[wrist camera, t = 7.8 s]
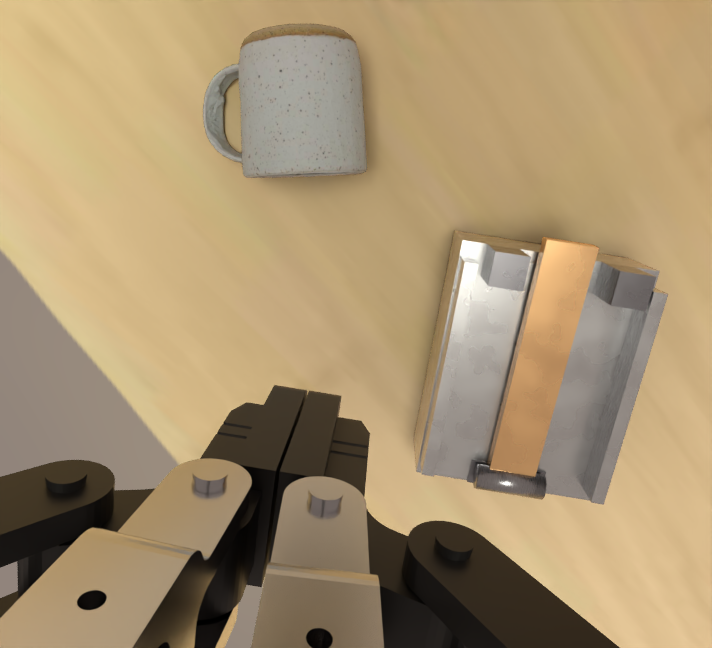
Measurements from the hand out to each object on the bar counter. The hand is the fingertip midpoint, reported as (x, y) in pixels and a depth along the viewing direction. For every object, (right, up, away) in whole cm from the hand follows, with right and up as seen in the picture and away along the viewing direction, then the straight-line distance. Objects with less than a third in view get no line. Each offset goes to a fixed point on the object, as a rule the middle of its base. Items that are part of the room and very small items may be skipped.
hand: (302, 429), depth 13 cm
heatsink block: (+13, 0, +29) cm, 32 cm away
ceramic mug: (-3, +16, +26) cm, 31 cm away
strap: (+12, -1, +24) cm, 27 cm away
